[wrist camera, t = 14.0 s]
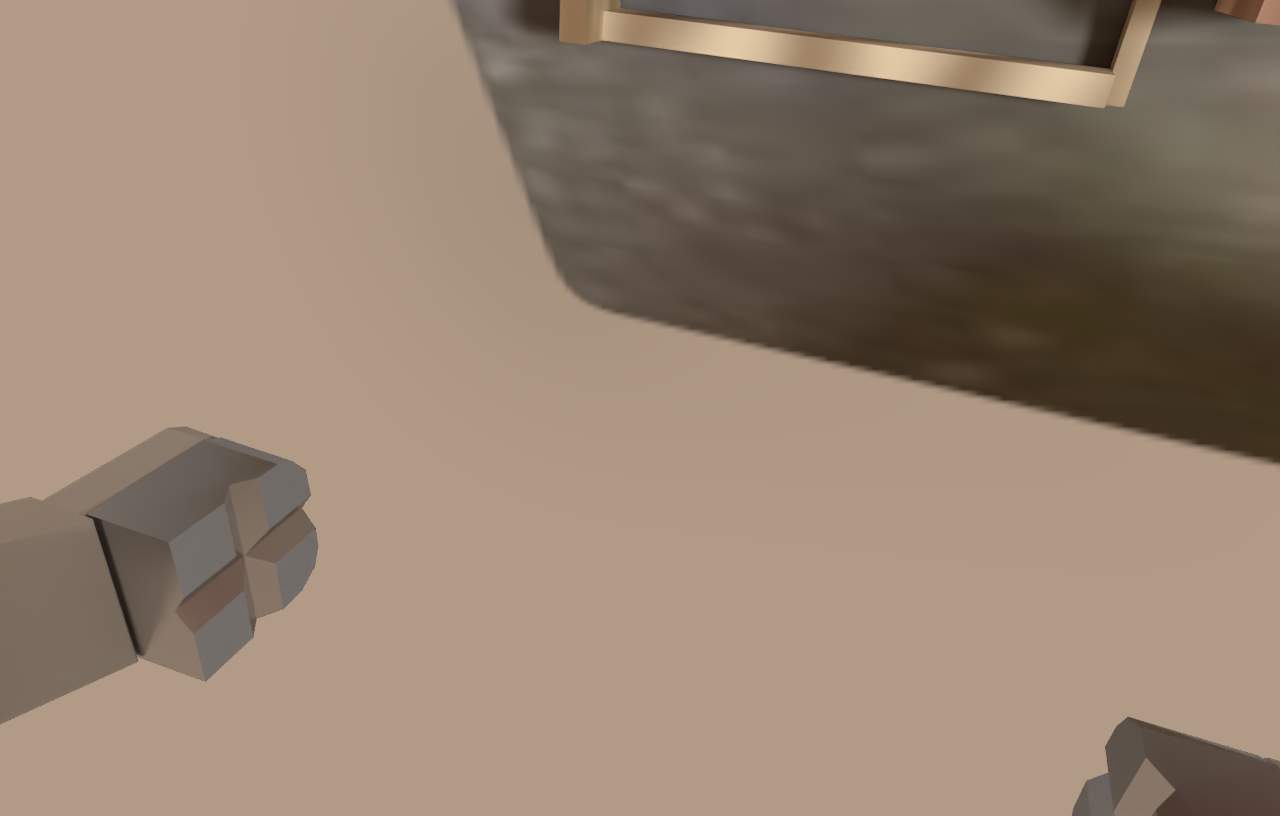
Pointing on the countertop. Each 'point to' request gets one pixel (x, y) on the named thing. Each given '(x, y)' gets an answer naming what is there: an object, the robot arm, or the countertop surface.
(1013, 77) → the frame
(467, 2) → the countertop surface
